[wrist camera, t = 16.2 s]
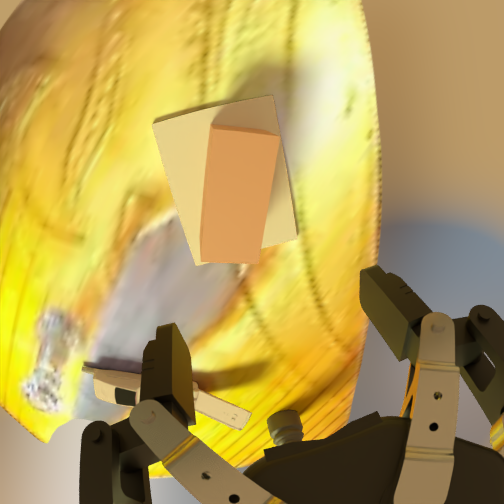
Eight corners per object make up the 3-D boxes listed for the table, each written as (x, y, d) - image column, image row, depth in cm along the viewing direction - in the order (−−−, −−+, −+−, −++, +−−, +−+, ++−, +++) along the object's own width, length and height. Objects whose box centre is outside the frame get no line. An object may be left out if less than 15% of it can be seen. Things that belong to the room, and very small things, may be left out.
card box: (210, 124, 25) (213, 129, 20) (265, 130, 26) (280, 136, 21) (199, 236, 30) (200, 261, 25) (248, 238, 31) (258, 263, 26)
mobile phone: (243, 431, 41) (80, 414, 33) (237, 402, 46) (86, 384, 38) (254, 412, 38) (74, 392, 31) (247, 381, 43) (82, 360, 36)
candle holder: (293, 423, 53) (328, 530, 31) (264, 427, 51) (294, 539, 30) (302, 408, 50) (343, 524, 28) (270, 411, 49) (305, 535, 27)
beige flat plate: (196, 264, 31) (196, 266, 31) (152, 124, 24) (151, 124, 24) (296, 237, 32) (297, 239, 32) (271, 95, 24) (272, 95, 24)
